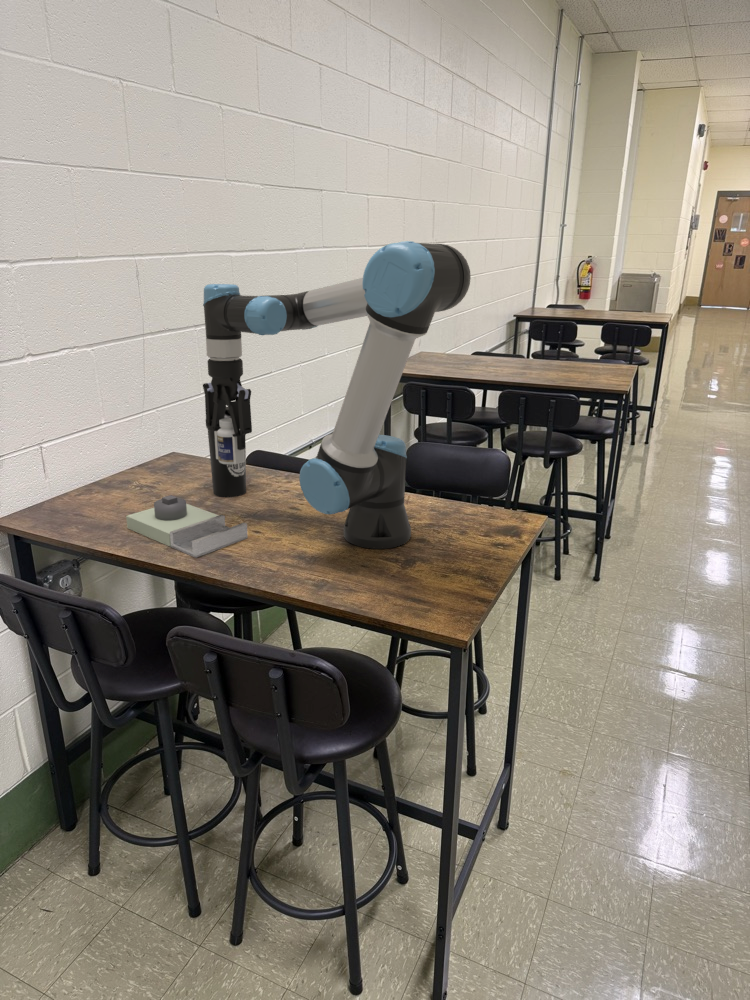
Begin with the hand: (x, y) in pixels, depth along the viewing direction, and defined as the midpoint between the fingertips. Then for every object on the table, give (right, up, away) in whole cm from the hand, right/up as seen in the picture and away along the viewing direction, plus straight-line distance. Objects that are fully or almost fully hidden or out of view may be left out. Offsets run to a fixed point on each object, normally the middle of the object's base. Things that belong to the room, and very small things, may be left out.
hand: (230, 460), depth 158 cm
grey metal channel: (-3, -18, -8) cm, 20 cm away
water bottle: (-5, -7, +24) cm, 25 cm away
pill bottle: (0, 0, 0) cm, 1 cm away
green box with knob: (-13, -16, -1) cm, 20 cm away
